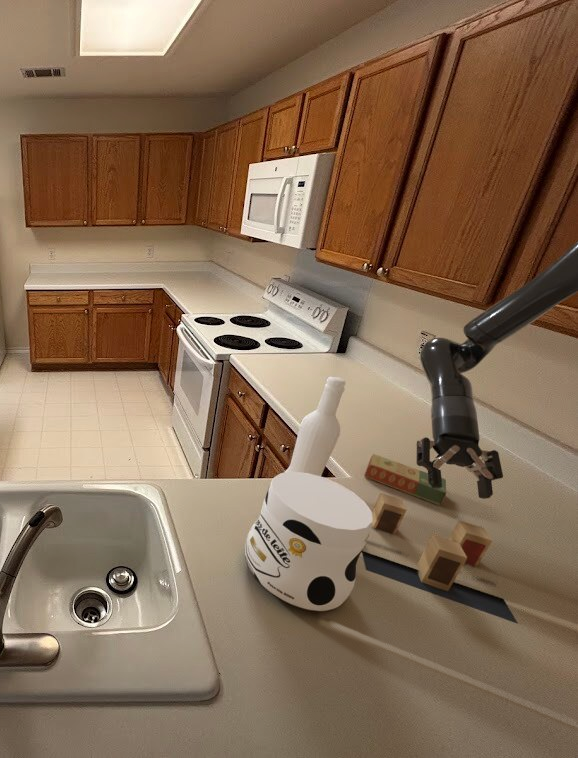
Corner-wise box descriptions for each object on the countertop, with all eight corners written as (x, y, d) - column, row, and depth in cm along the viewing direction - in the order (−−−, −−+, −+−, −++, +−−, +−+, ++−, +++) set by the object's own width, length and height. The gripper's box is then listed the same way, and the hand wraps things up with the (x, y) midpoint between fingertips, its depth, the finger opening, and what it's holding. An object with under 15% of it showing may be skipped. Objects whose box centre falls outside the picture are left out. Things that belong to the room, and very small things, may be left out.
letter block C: (466, 558, 84) (484, 527, 81) (473, 572, 80) (493, 541, 77) (441, 550, 85) (458, 520, 82) (448, 564, 82) (466, 533, 79)
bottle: (319, 491, 101) (362, 379, 90) (311, 506, 95) (356, 388, 84) (285, 477, 106) (321, 369, 95) (275, 490, 100) (313, 376, 89)
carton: (367, 465, 115) (373, 452, 113) (440, 492, 105) (447, 478, 104) (363, 477, 109) (369, 463, 107) (440, 506, 99) (448, 492, 98)
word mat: (495, 591, 76) (497, 588, 76) (516, 626, 69) (518, 623, 69) (358, 545, 84) (359, 542, 84) (364, 572, 78) (366, 569, 77)
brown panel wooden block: (441, 575, 77) (459, 543, 74) (448, 592, 74) (467, 558, 71) (415, 567, 79) (432, 535, 76) (421, 582, 76) (439, 549, 73)
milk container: (222, 569, 76) (245, 489, 69) (266, 530, 86) (290, 457, 80) (322, 642, 64) (362, 553, 57) (358, 586, 74) (395, 506, 68)
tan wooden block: (388, 528, 90) (402, 499, 87) (392, 540, 87) (407, 510, 84) (367, 522, 92) (380, 492, 89) (370, 533, 88) (384, 503, 85)
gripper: (427, 408, 89) (432, 481, 83) (505, 421, 86) (517, 498, 80) (407, 419, 96) (410, 487, 90) (479, 432, 93) (487, 504, 87)
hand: (460, 492), depth 85 cm, fingers open, 8 cm apart
